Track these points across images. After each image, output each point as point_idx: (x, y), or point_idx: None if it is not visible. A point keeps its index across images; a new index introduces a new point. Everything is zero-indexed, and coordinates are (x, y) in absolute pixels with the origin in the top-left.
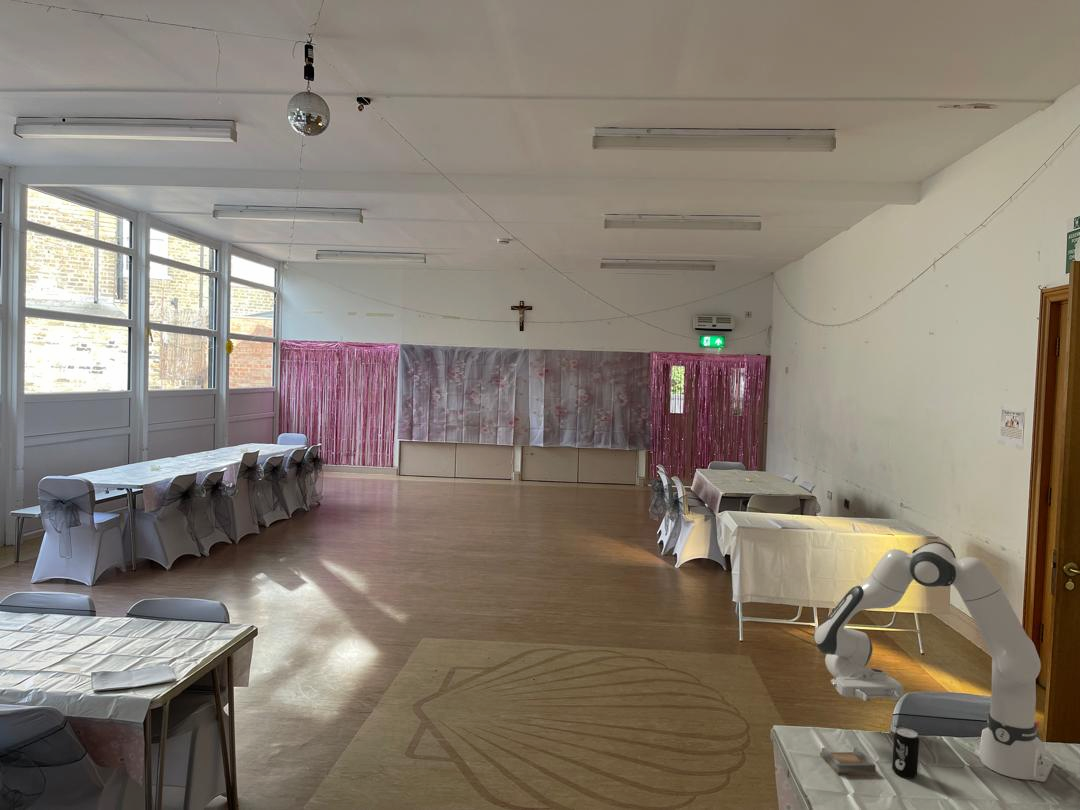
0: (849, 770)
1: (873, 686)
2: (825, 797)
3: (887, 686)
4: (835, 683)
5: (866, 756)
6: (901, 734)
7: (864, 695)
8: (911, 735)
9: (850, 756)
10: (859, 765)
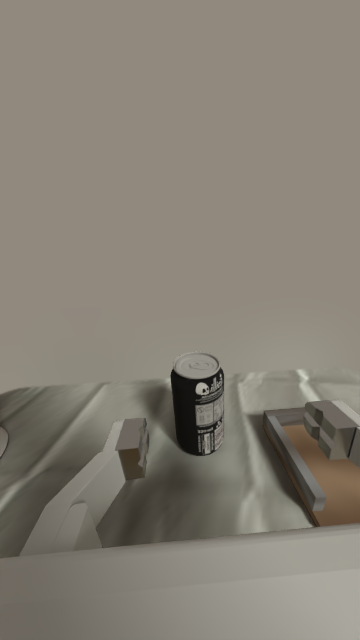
0: None
1: (293, 536)
2: (337, 372)
3: (82, 566)
4: None
5: (283, 443)
6: (213, 355)
7: (347, 409)
8: (189, 361)
9: (329, 491)
10: (297, 408)
